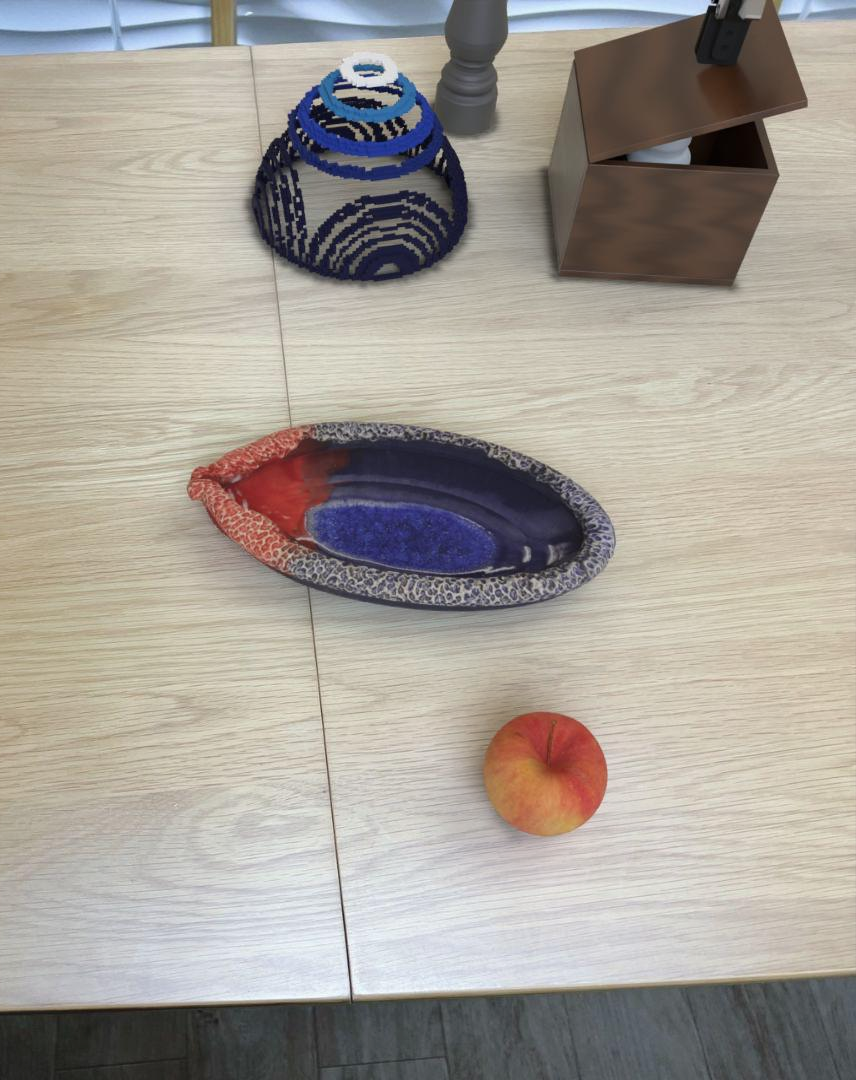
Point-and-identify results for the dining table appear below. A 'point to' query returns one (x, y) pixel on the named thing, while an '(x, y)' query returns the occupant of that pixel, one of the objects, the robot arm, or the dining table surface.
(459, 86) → the candle holder
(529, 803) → the apple
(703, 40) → the robot arm
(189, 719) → the dining table surface
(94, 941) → the dining table surface
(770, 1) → the lid
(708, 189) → the chest
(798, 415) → the dining table surface
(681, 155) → the pill bottle
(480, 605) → the dish
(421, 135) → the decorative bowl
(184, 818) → the dining table surface
